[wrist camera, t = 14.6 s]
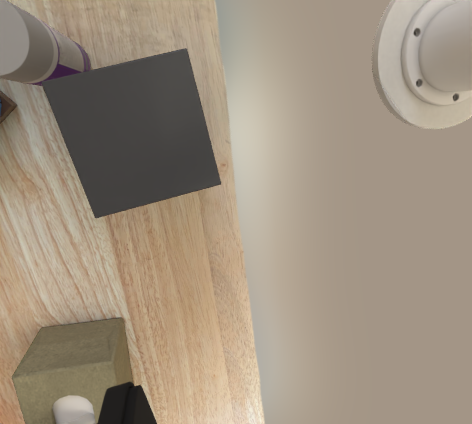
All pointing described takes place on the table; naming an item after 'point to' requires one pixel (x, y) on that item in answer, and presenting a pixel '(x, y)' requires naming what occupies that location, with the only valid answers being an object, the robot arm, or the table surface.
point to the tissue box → (72, 371)
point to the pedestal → (135, 131)
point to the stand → (5, 106)
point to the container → (35, 49)
